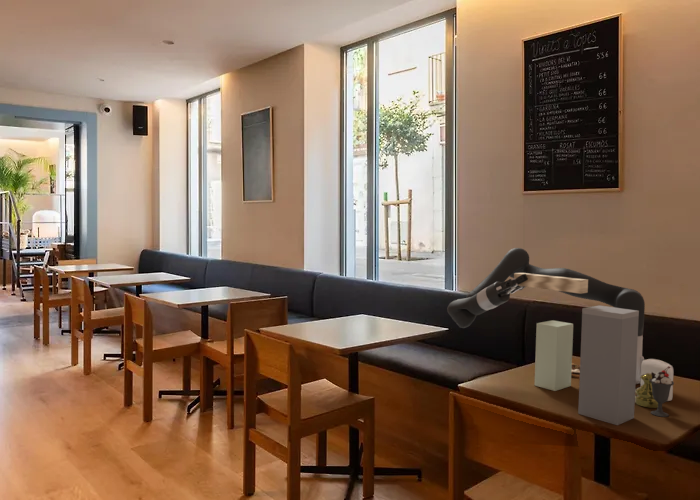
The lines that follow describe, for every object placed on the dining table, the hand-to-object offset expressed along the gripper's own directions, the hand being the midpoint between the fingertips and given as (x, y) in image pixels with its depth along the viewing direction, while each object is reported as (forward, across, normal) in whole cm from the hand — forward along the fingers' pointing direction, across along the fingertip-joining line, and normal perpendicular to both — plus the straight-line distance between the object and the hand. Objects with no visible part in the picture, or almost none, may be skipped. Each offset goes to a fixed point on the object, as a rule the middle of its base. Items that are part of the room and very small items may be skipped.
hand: (530, 276), depth 193 cm
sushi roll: (-23, +37, +33) cm, 55 cm away
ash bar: (+4, 0, +6) cm, 8 cm away
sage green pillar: (-19, +15, +34) cm, 42 cm away
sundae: (+12, +15, +53) cm, 56 cm away
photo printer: (+5, +32, +48) cm, 58 cm away
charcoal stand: (+4, 0, +48) cm, 48 cm away
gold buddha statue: (+7, +21, +49) cm, 54 cm away
